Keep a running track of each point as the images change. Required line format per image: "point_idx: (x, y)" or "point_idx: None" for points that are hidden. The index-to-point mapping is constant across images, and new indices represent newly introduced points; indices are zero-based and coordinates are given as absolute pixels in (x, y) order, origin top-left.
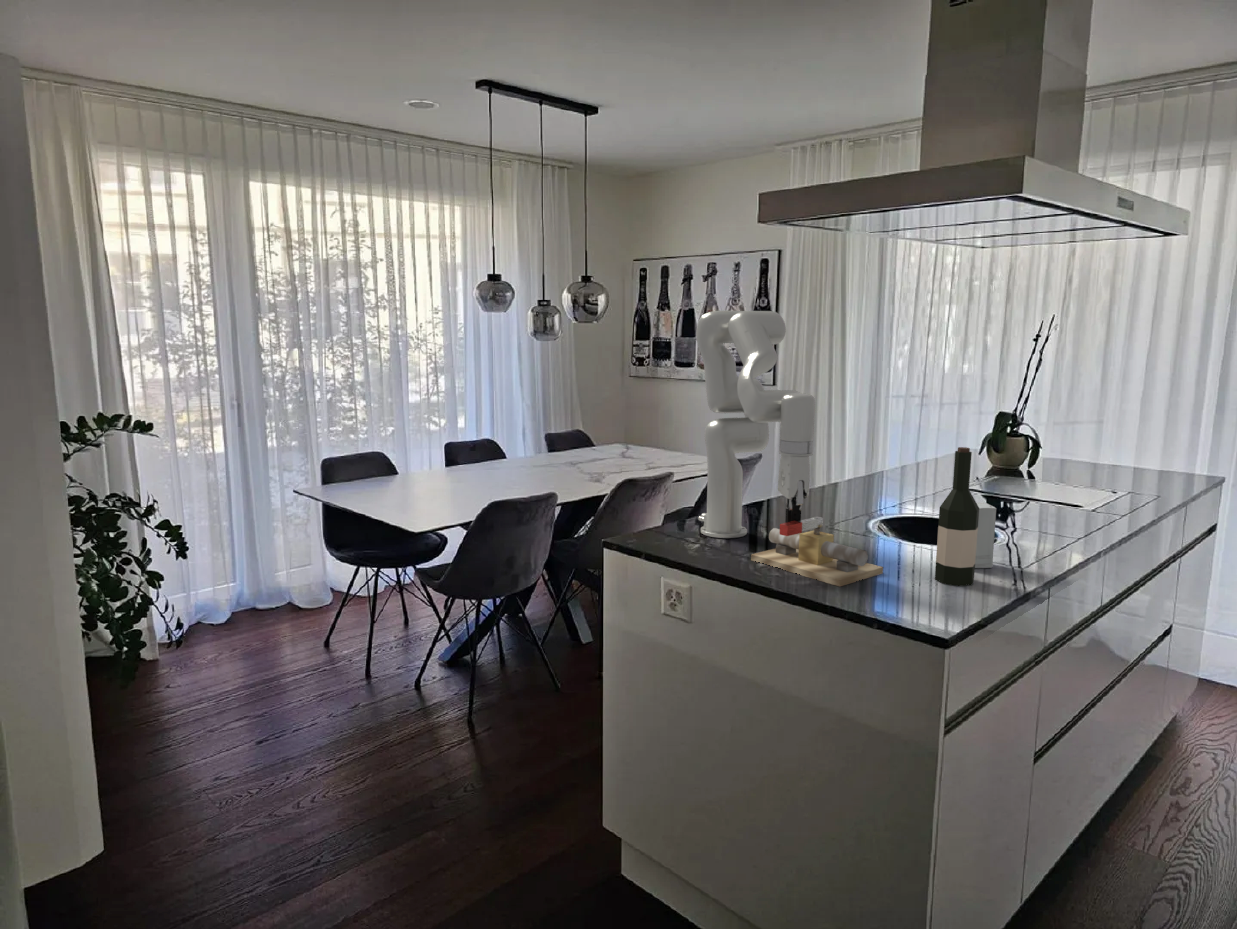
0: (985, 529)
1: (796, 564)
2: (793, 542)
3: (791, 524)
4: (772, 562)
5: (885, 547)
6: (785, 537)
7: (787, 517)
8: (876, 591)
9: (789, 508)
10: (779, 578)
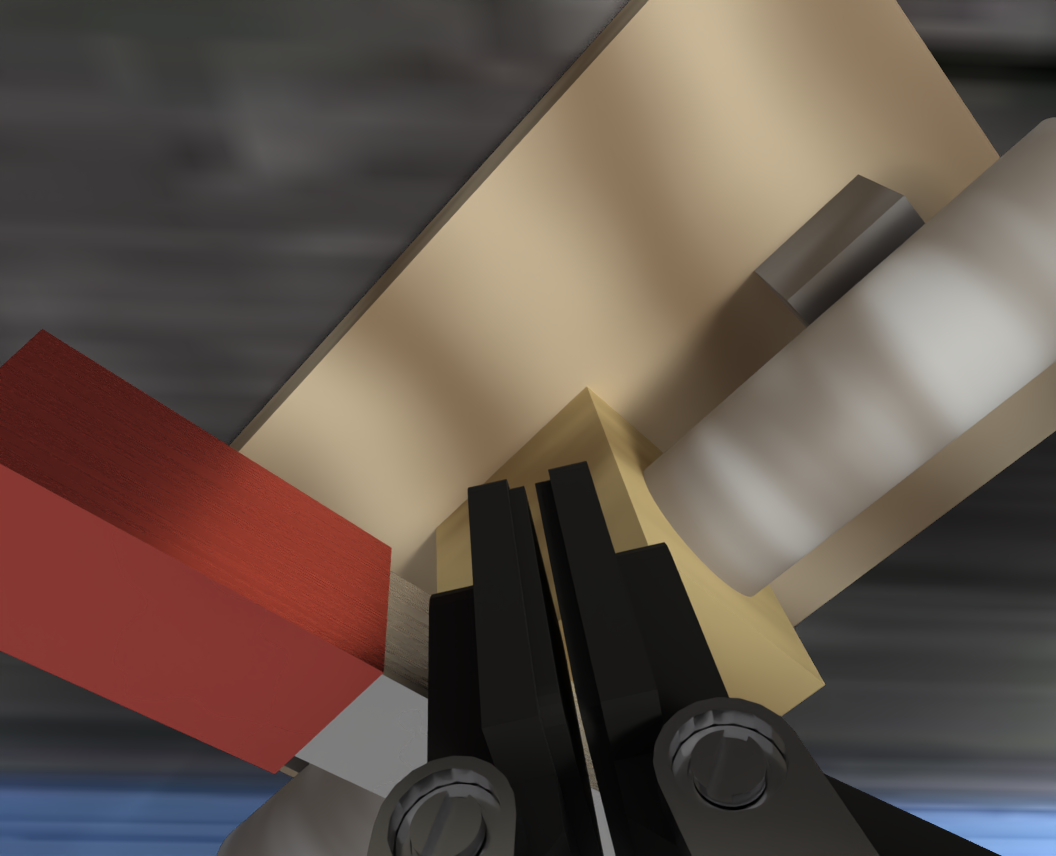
0: None
1: (427, 365)
2: (737, 410)
3: (6, 637)
4: (531, 122)
5: (1028, 841)
6: (860, 339)
7: (473, 591)
8: (64, 794)
9: (486, 793)
10: (120, 174)
